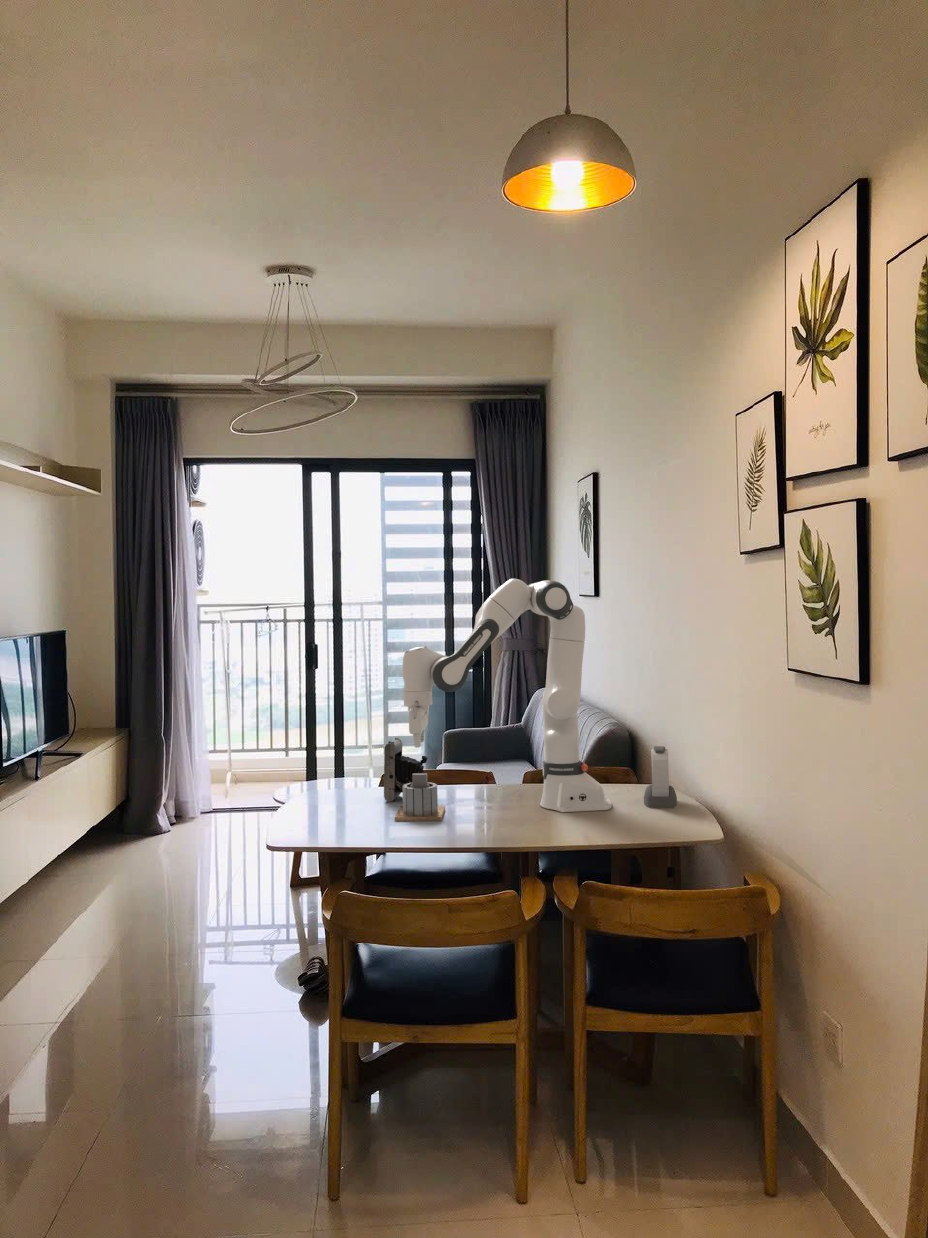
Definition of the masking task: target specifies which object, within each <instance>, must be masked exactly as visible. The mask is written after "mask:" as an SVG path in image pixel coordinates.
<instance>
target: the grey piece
mask: <svg viewBox="0 0 928 1238" xmlns="http://www.w3.org/2000/svg"><path fill="white" fill-rule="evenodd" d="M668 750H669V749H666V747H665V746H663V745H655V746H653V748H651V784H649V785H648V786H647V787H645V790H644V795H643V804H644V806H645V807H646V808H647V809H674V808H676V807H677V805H678V800H677V799H678V797H677V793H676V790H675V789H674V787H673V785H669V782H670V781H669V780H670V779H669V777H670V776H669V775H670V774H669V751H668Z"/></svg>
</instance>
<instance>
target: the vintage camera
mask: <svg viewBox="0 0 928 1238" xmlns="http://www.w3.org/2000/svg"><path fill="white" fill-rule="evenodd" d="M383 758H384V759H383V761H384V763H383V765H384V766H383V769H384V770H383V798H384V800H385V801H386V802H387V803H390V802H393V801H394V800H395V799H397V798H398V797H399V796H400V795H401V794H403V787H402V786H403V785H404V784H407V783H412V774H424V768H425V766H424V764H426V763H427V761H428V759H429V757H427V755H422V756H421V759H420V760H417V758H412V757H410V756H405V755H403V742H402V740H401V739H400V738H398V737H395V738H394V739H393V740H389V741H388V742H387V743H386V744H385V746H384V757H383Z"/></svg>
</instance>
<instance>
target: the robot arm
mask: <svg viewBox="0 0 928 1238" xmlns="http://www.w3.org/2000/svg"><path fill="white" fill-rule="evenodd" d="M526 611H528V612H531V613H532V614H535V615H538V616H544V617H548V619H549V622H550V628H551V629H550V634H549V643H548V650H547V662H546V676H545V677H546V679H545V688H544V689H543V693H542V722H543V723H542V724H543V725H542V726H543V751H544V752H543V753H544V755H543V756H544V757H543V758H544V759H543V761H542V776H543V786H542V787H543V789H542V794H541V800H540V803H539V806H540V807H542V808H544V809H548V810H554V811H557V812H561V813H569V812H571V813H572V812H591V811H607V810H611V808H612V804H613V803H612V801H611V800H610V799H609V798H607V797H605V792H604V788H603V786H602V784H601V783H600V782H598V781H597V780H596V779H595V778H594V777H592V776H591V775H589V774H588V773H587V771H588V770H589V767H588V765H587V763H585V762H584V761H582V760H580V736H579V735H580V733H579V721H578V712H579V709H580V705H581V695H582V694H581V693H582V675H583V672H582V671H583V660H584V652H585V640H586V618H585V612H584V610H583V609H582V608H581V607H579V606H577V605H576V604H574V603H573V601H572V599H571V595H570V592H569V590H568V588H567V587H566V586H565V585H564V584H563V583H561V582H559V581H555V580H549V579H547V580H541V581H535V582H531V583H528V584H527V583H525V582H524V581H523V580H521V579H518V578H509V579H508V580H507V581H505V582H504V583H502V585H500V586H499V587H497V589H496V590H495V591H493V593H491V595H489V597H487V599H486V600H485V601H484V602H483V603H482V605H481V606H480V608H479V609H478V611H477V612H476V614H475V621H474V626H473V629H472V632H471V633H470V635H469V636H468V637H467V639H465V641H463V643H462V644H461V645H460V646H459V647H458V649H457V650H456V651H455V652H454V653H453V654H451V655H450V656H448V655H445V654H441V653H438V652H437V651H434V650H432V649H431V648H429V647H428V646H426V645H421V646H416V647H412V648H409V649H407V650H406V651H405V652H404V653H403V655H402V656H403V658H402V678H403V682H404V683H403V689H402V693H403V706H404V707H407V711H408V732H409V735H412V738H413V743H414V744H413V745H414V748H419V749H420V748H421V746H422V743H424V742H425V734H426V733H425V732H426V729H425V728H426V727H427V726H428V724H429V715H430V706H432V705H433V687H435V686H436V687H437V688H438V689H439V690H441V691H443V692H446V693H453V692H456V691H458V690H460V689H461V688H462V687H463V686H464V684H465V683H466V682H467V679H468V675H469V672H470V670H471V668H472V666H473V665H474V664H475V662H476V661H477V660H478V659H479V658H480V657H481V656H482V654H483V653H484V652H485V651H486V649H488V647H489V646H490V645H491V644H492V643H493V642H494V641H496V640H497V639H498V638H499V637H500V636H501V635H503V633H505V632H506V631H507V630H508V629H509V628H510V627H511V626H512V625H513V624H514V623H515V622H516V621H517V619H519V617H520V616H521V615H522V614H523V613H525V612H526Z"/></svg>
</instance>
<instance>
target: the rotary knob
mask: <svg viewBox="0 0 928 1238" xmlns="http://www.w3.org/2000/svg"><path fill="white" fill-rule="evenodd" d="M427 782H428V773H422V774H412V785H410V788H428V787H430V785H429V784H427Z"/></svg>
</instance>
